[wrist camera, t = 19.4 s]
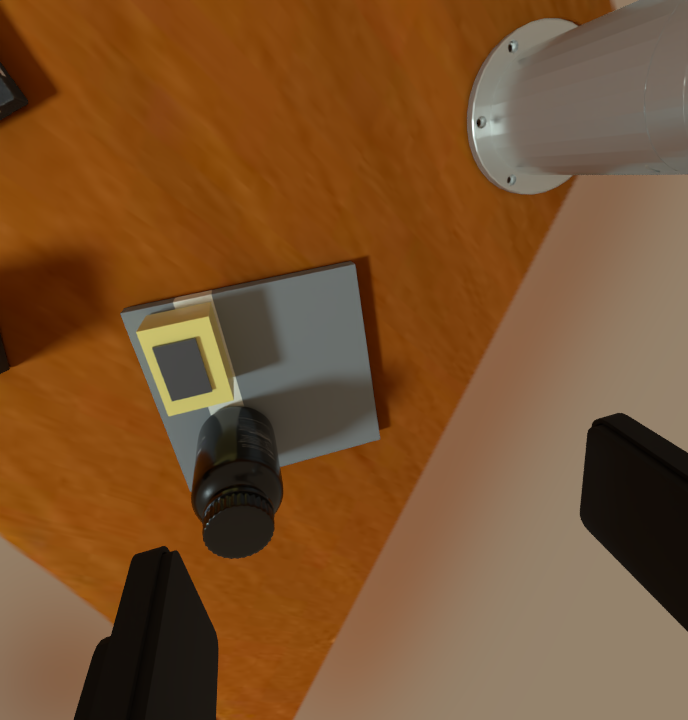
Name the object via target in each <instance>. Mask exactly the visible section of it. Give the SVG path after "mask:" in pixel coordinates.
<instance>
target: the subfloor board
mask: <svg viewBox="0 0 688 720" xmlns="http://www.w3.org/2000/svg"><path fill="white" fill-rule="evenodd" d="M207 302H211V304H212V307H213V311H214V314H215V318H216V321H217V324H218V328H219V331H220V334H221V338H222V341H223V345H224V348H225V351H226V355H227V358H228V361H229V365H230V368H231V372H232V375H233V378H234V400H233V401H229V402H225V403H221V404H217V405H213V406H209V407H205V408H201V409H197V410H193V411H189V412H185V413H181V414H177V415H173V416H168V414H167V411H166V409H165V406H164V403H163V401H162V398H161V396H160V393H159V391H158V388H157V385H156V383H155V380H154V378H153V375H152V372H151V370H150V367H149V365H148V362H147V359H146V357H145V354H144V352H143V349H142V346H141V344H140V341H139V339H138V336H137V333H136V331H137V330H138V328H139V326H140V325H141V323H142V321H143V320H144V318H145V317H146V315H151V314H156V313H160V312H165V311H170V310H174V309H179V308H184V307H189V306H193V305H198V304H203V303H207ZM120 314H121V317H122V319H123V322H124V324H125V327H126V330H127V332H128V335H129V337H130V340H131V342H132V345H133V347H134V350H135V352H136V355H137V357H138V360H139V362H140V365H141V368H142V370H143V373H144V375H145V378H146V380H147V383H148V385H149V388H150V390H151V393H152V395H153V398H154V401H155V403H156V406H157V408H158V411H159V413H160V416H161V418H162V421H163V423H164V426H165V428H166V431H167V433H168V436H169V439H170V441H171V444H172V446H173V449H174V451H175V454H176V456H177V459H178V461H179V464H180V466H181V469H182V471H183V474H184V477H185V479H186V482H187V484H188V487H189V489H190V492H191V491H192V483H193V475H194V466H195V458H196V450H197V442H198V436H199V432H200V429H201V427H202V425H203V424H204V422H205V421H206V420H207V419H208V418H209V417H210V416H211V415H212V414H214V413H215V412H217V411H219V410H221V409H224V408H227V407H233V406H244V407H249V408H253V409H255V410H257V411H259V412H261V413H262V414H263V415H265V416H266V417H267V418H268V420H269V421H270V423H271V424H272V426H273V429H274V434H275V439H276V445H277V451H278V457H279V463H280V467H281V466H285V465H289V464H292V463H296V462H300V461H303V460H307V459H310V458H314V457H318V456H321V455H325V454H328V453H332V452H336V451H339V450H343V449H346V448H350V447H354V446H357V445H361V444H365V443H368V442H372V441H375V440H379V439H380V435H379V428H378V421H377V414H376V407H375V400H374V393H373V386H372V379H371V372H370V365H369V358H368V351H367V344H366V337H365V330H364V323H363V316H362V309H361V302H360V295H359V288H358V281H357V274H356V267H355V264H354V263H353V262H351V261H348V262H344V263H339V264H334V265H329V266H324V267H320V268H315V269H310V270H305V271H301V272H296V273H291V274H286V275H281V276H277V277H272V278H267V279H262V280H257V281H253V282H248V283H243V284H238V285H233V286H229V287H224V288H219V289H214V290H209V291H205V292H200V293H195V294H190V295H185V296H181V297H176V298H171V299H166V300H162V301H157V302H152V303H147V304H142V305H138V306H133V307H128V308H124V309H123V311H122V312H121V313H120Z"/></svg>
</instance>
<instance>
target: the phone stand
mask: <svg viewBox="0 0 688 720" xmlns="http://www.w3.org/2000/svg"><path fill="white" fill-rule="evenodd" d="M9 369H10V368H9V364H8V361H7V357H6V354H5V350H4V346H3V343H2V339H1V335H0V374H1V373H3V372H5V371H7V370H9Z"/></svg>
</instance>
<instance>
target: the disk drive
mask: <svg viewBox="0 0 688 720" xmlns="http://www.w3.org/2000/svg"><path fill="white" fill-rule="evenodd" d="M27 104H28V100H27V99H26V97H25V96H24V94H23V93H22V92H21V90H20V89H19V87H18V86H17V85H16V84H15V82H14V80H13V79H12V78H11V77H10V75H9V74H8V72H7V71H6V69H5V68H4V66H3V65H2V64H1V62H0V120H2V119H3V118H5V117H6V116H9V115H11V114H12V112H14V111H16V110H18V109H20V108H21V107H23V106H26V105H27Z"/></svg>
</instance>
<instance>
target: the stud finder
mask: <svg viewBox="0 0 688 720" xmlns="http://www.w3.org/2000/svg"><path fill="white" fill-rule="evenodd" d="M136 333H137V336H138V339H139V341H140V344H141V346H142V349H143V352H144V354H145V357H146V359H147V362H148V365H149V367H150V370H151V372H152V375H153V378H154V380H155V383H156V385H157V388H158V391H159V393H160V396H161V398H162V401H163V403H164V406H165V409H166V411H167V414H168V416H173V415H177V414H181V413H185V412H189V411H193V410H197V409H201V408H205V407H209V406H213V405H217V404H221V403H225V402H229V401H233V400H234V378H233V375H232V372H231V368H230V365H229V361H228V358H227V355H226V351H225V348H224V345H223V341H222V338H221V334H220V331H219V328H218V324H217V321H216V318H215V314H214V311H213V307H212V304H211V302H207V303H203V304H198V305H193V306H189V307H184V308H179V309H174V310H170V311H165V312H160V313H156V314H151V315H146V317H145V318H144V320H143V321H142V323H141V325H140V326H139V328H138V330H137V331H136Z"/></svg>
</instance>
